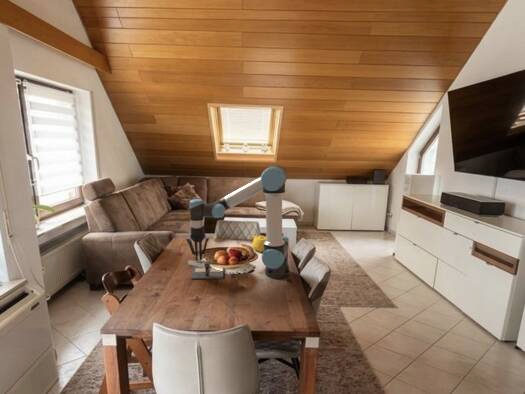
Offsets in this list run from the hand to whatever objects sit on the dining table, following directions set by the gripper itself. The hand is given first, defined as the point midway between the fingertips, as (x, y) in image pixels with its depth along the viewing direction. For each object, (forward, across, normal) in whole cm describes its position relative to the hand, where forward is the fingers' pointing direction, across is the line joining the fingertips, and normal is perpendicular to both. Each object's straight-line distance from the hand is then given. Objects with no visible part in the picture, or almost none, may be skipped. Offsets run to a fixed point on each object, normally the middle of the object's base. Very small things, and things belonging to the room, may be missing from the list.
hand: (199, 265), depth 179 cm
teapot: (+7, -39, -37) cm, 54 cm away
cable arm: (-1, 0, +3) cm, 3 cm away
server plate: (+5, -5, 0) cm, 7 cm away
